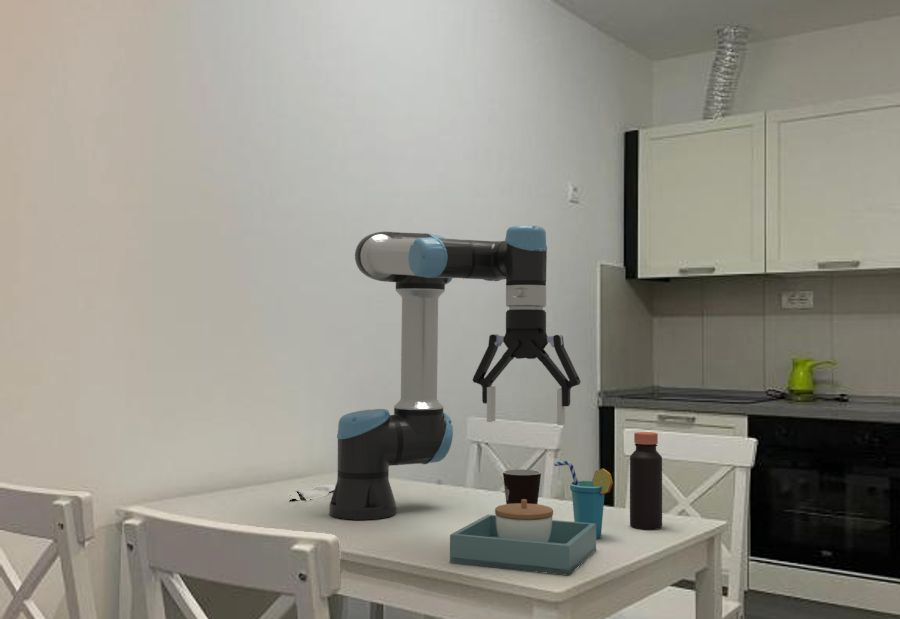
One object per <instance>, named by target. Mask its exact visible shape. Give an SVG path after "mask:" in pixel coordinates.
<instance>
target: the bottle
mask: <svg viewBox="0 0 900 619" xmlns="http://www.w3.org/2000/svg"><path fill="white" fill-rule="evenodd" d="M633 434H634V436H633V438H634V439H633V441H634V446H635V450H634V451H633V452H632V453H631V454H630V456H629V525H630V527H632V528H634V529H636V530H647V531H649V530H650V531H652V530H658V529H661V528H662V526H663V456H662V455H661V454H660V453H659V452H658V451H657V447H658V443H659V442H658V434H659V433H657V432H654V431H653V432H651V431H650V432H649V431H638V432H634V433H633Z"/></svg>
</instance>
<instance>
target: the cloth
mask: <svg viewBox="0 0 900 619" xmlns="http://www.w3.org/2000/svg"><path fill="white" fill-rule="evenodd" d="M335 486H336V484H335V485H334V484H321V485H317V486H314V487H310V488H308V489H309V490H318V491H325V492H321V493H326V494H328V495H329V493H331V492H334V489H335ZM295 490H296V491H294V490H293V491H292V492H297V493H300V494H299V495H302V496H301V498H302V499H304V500H305V499H309V498H314V497H319V496H322V495H320V494H321V493H320V494H319V493H317V492H315V491H305V490H304V489H301V488H299V489H295ZM292 497H293V496H292ZM293 499H294V498H290V500H291V501H292V500H293Z"/></svg>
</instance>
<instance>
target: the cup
mask: <svg viewBox="0 0 900 619" xmlns="http://www.w3.org/2000/svg"><path fill="white" fill-rule="evenodd" d="M553 464H554V467H558V466H559V467H560V466H568V467H569V470H570V473H571V477H572V480H573V481H572V482H571V483H570V484H569V488H570V489H569V490H570V491H571V496H572V497H571V498H572V506H573V508H572V509H573V510H572V511H573V520H574V521H573V522H583V523H595V524H596V540H599V539H601V538H602V529H603V528H602V527H603V519H604V518H603V516H604V515H603V514H604V506H605V505H604V504H605V495H606V494H609V493H610V492H611V489H612V487H613V484H614V482H613V478H612V474H611V473H610V472H609V471H608V470H606V469H605V468H600V469H598V470H596V471H594V474H593V477H592V479H591V481H590V480H589V481H588V480H578V477H577V474H576V471H575V469H574V465H573V463H572V462H570V461H569V460H562V461H554V463H553Z"/></svg>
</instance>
